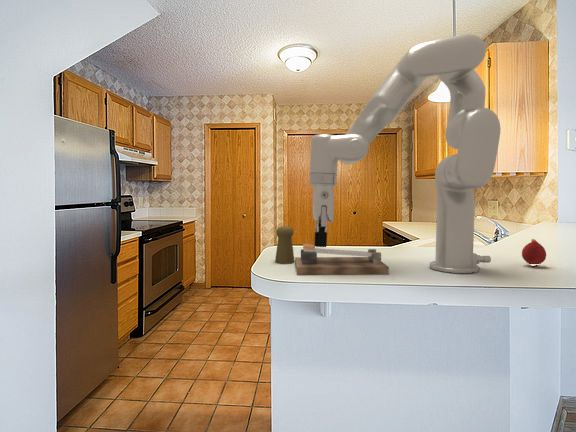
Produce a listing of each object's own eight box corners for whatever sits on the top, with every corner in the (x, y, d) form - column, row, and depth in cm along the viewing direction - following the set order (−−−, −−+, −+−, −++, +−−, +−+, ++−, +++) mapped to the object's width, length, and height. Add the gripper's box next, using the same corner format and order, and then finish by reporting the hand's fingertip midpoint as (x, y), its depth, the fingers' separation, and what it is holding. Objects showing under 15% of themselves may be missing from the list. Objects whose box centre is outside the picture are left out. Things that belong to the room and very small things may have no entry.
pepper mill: (292, 264, 109) (292, 227, 108) (272, 263, 110) (272, 227, 109) (296, 260, 115) (296, 225, 114) (277, 259, 116) (277, 225, 115)
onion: (545, 266, 106) (546, 238, 105) (546, 269, 101) (547, 241, 100) (521, 263, 109) (522, 237, 108) (521, 267, 104) (522, 239, 104)
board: (374, 263, 110) (375, 246, 110) (388, 274, 96) (389, 255, 96) (295, 264, 110) (295, 247, 109) (297, 275, 96) (297, 256, 95)
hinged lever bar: (374, 255, 105) (375, 248, 104) (377, 257, 101) (378, 250, 101) (302, 250, 104) (303, 243, 104) (303, 252, 101) (304, 245, 100)
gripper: (341, 180, 94) (337, 251, 95) (332, 181, 108) (330, 242, 110) (311, 179, 93) (309, 250, 95) (307, 180, 108) (305, 242, 110)
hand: (320, 246), depth 102 cm, fingers closed
